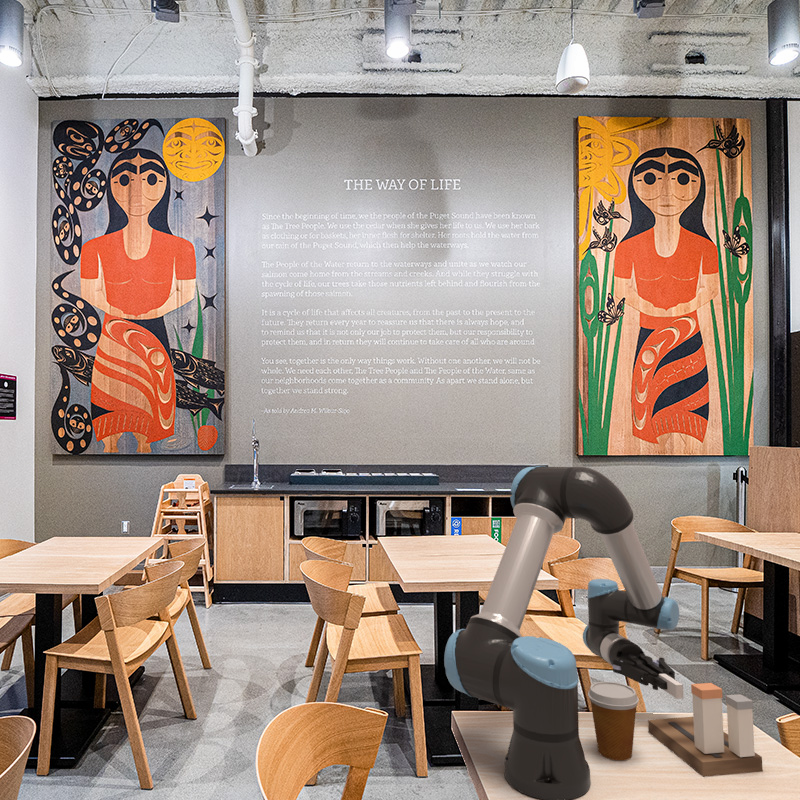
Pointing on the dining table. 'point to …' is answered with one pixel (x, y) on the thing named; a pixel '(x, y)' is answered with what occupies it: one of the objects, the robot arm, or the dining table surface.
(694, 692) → the orange topped beige block
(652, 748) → the dining table surface
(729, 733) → the grey topped white block
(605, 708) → the disposable coffee cup
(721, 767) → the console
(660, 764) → the dining table surface
